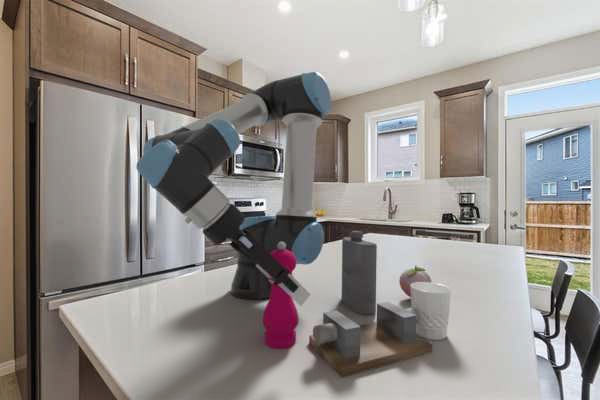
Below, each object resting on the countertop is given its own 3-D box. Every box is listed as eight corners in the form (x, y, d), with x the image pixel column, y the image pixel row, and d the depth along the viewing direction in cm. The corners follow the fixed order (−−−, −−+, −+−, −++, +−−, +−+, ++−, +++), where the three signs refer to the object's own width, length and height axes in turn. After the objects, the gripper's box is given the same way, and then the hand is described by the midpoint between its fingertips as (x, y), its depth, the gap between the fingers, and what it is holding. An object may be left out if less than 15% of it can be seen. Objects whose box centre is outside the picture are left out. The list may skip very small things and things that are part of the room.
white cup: (447, 345, 58) (448, 295, 57) (406, 335, 62) (407, 288, 62) (451, 330, 64) (452, 285, 64) (413, 322, 68) (414, 279, 68)
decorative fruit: (405, 292, 90) (406, 260, 90) (433, 298, 85) (434, 264, 85) (394, 300, 83) (394, 265, 83) (424, 307, 78) (424, 270, 78)
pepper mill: (300, 333, 62) (301, 239, 62) (296, 351, 55) (297, 245, 54) (266, 331, 62) (267, 238, 62) (258, 349, 55) (259, 243, 55)
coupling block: (302, 344, 57) (302, 311, 57) (393, 325, 67) (394, 296, 67) (333, 379, 46) (334, 338, 46) (437, 350, 56) (438, 316, 56)
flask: (336, 296, 86) (337, 228, 86) (355, 295, 87) (356, 228, 87) (357, 316, 71) (358, 235, 71) (379, 314, 72) (380, 234, 72)
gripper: (195, 225, 63) (260, 286, 70) (209, 240, 41) (304, 329, 47) (220, 200, 66) (281, 262, 72) (247, 203, 43) (333, 292, 49)
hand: (291, 289), depth 59 cm, fingers open, 13 cm apart
